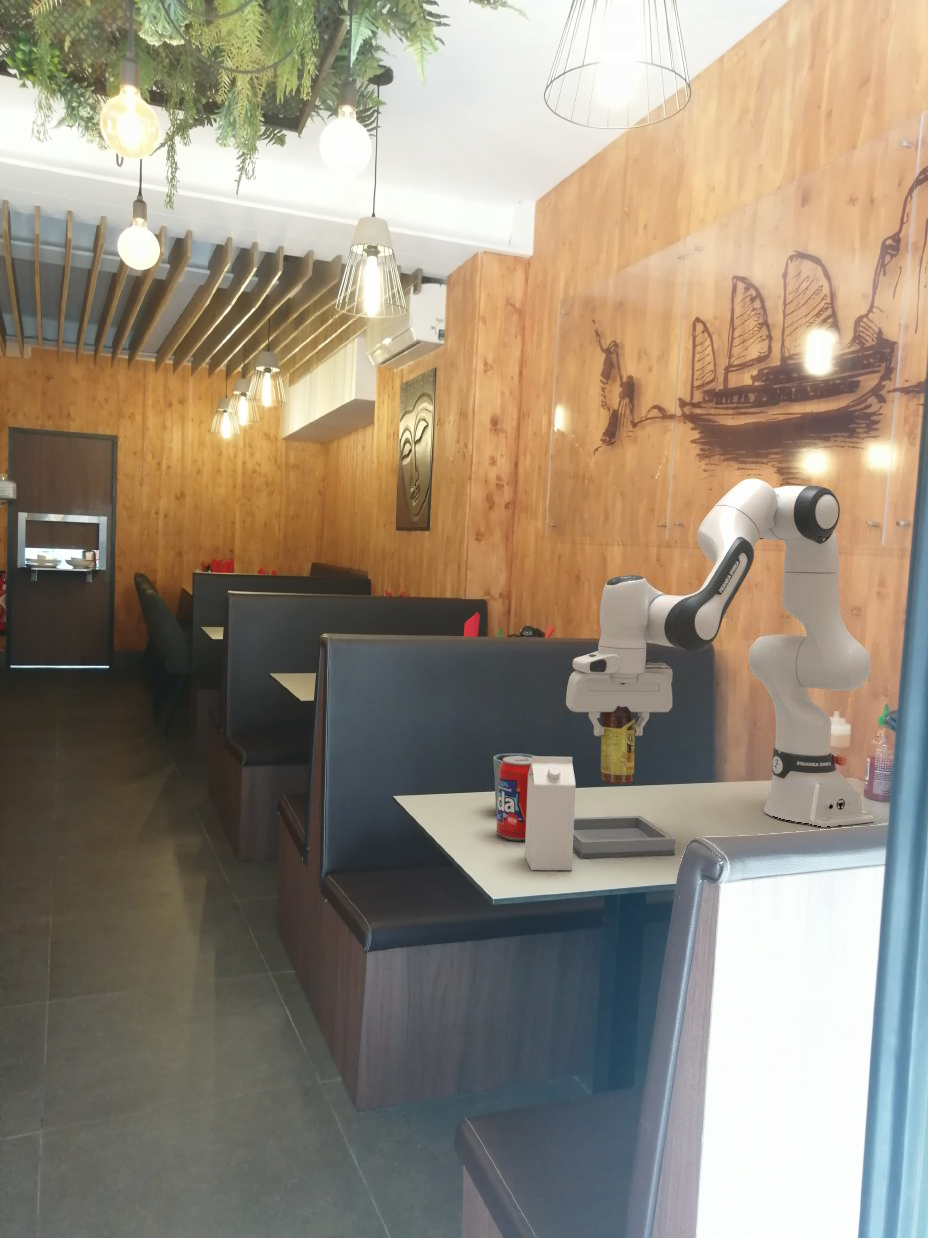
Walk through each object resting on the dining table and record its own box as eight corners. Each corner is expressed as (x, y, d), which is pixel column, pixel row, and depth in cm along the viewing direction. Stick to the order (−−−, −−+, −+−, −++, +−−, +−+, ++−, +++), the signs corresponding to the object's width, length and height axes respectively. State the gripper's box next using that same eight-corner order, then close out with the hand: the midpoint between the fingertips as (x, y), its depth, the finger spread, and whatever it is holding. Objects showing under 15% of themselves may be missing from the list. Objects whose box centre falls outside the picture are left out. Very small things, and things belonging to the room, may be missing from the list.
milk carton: (524, 857, 158) (528, 752, 157) (563, 857, 159) (568, 752, 158) (530, 871, 151) (535, 761, 150) (571, 871, 152) (576, 761, 151)
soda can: (544, 841, 168) (547, 763, 167) (506, 844, 165) (509, 764, 164) (526, 829, 175) (529, 754, 174) (490, 832, 172) (492, 755, 172)
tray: (640, 830, 177) (641, 816, 177) (674, 855, 162) (675, 839, 162) (554, 833, 173) (555, 818, 173) (581, 859, 158) (582, 842, 158)
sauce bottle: (633, 786, 163) (636, 679, 162) (599, 784, 164) (601, 678, 163) (634, 778, 170) (636, 674, 168) (601, 776, 171) (603, 673, 170)
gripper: (665, 661, 171) (661, 732, 172) (564, 659, 166) (561, 732, 167) (680, 664, 165) (676, 738, 166) (576, 663, 160) (572, 739, 161)
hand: (617, 735), depth 166 cm, fingers closed on sauce bottle, 6 cm apart
